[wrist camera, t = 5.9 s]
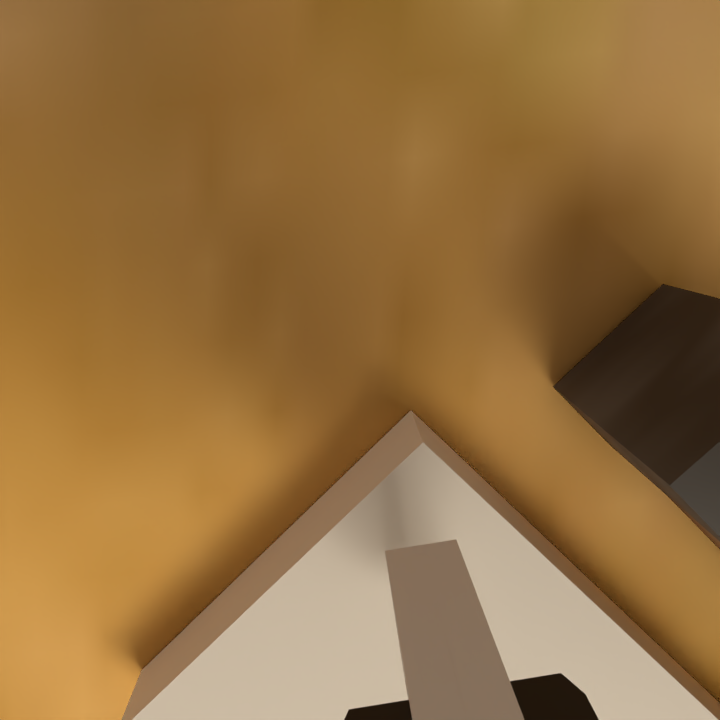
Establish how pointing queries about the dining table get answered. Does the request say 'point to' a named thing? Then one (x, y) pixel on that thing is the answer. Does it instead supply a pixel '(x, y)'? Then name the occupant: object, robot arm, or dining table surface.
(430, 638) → the robot arm
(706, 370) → the bar
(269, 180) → the dining table surface
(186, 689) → the table-top board
